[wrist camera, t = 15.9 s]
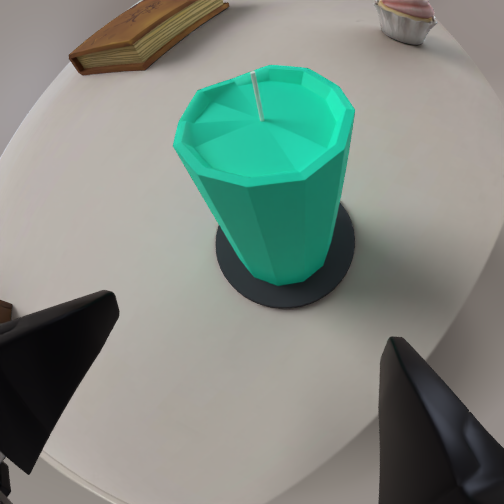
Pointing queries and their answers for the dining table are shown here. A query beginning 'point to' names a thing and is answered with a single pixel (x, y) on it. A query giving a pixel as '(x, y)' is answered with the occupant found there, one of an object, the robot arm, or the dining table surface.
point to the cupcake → (406, 19)
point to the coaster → (296, 292)
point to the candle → (270, 165)
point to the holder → (5, 311)
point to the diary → (142, 35)
